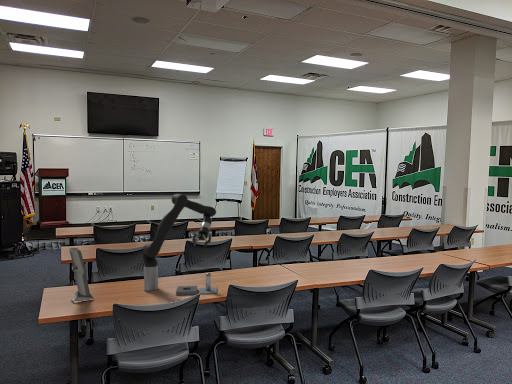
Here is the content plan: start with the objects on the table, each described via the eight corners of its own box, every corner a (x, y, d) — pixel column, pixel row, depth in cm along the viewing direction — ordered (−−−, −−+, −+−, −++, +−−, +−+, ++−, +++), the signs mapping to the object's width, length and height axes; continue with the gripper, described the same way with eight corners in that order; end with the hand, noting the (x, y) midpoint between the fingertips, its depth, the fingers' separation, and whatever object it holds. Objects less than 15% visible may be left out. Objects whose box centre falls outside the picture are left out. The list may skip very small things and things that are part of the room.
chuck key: (205, 291, 267) (205, 274, 266) (205, 289, 271) (205, 272, 270) (210, 290, 267) (210, 274, 267) (210, 289, 271) (210, 272, 270)
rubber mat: (199, 294, 262) (199, 293, 262) (200, 289, 274) (200, 287, 274) (216, 293, 264) (216, 292, 264) (216, 288, 276) (216, 287, 276)
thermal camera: (70, 299, 253) (68, 247, 251) (90, 295, 260) (89, 245, 258) (73, 304, 243) (71, 250, 241) (94, 300, 251) (92, 248, 249)
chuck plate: (176, 295, 260) (176, 291, 260) (177, 289, 272) (177, 286, 272) (196, 294, 262) (196, 291, 262) (197, 289, 274) (197, 285, 274)
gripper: (194, 225, 294) (189, 243, 284) (212, 226, 291) (207, 244, 281) (197, 231, 300) (192, 248, 289) (214, 232, 297) (209, 249, 286)
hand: (199, 246), depth 285 cm, fingers open, 8 cm apart
